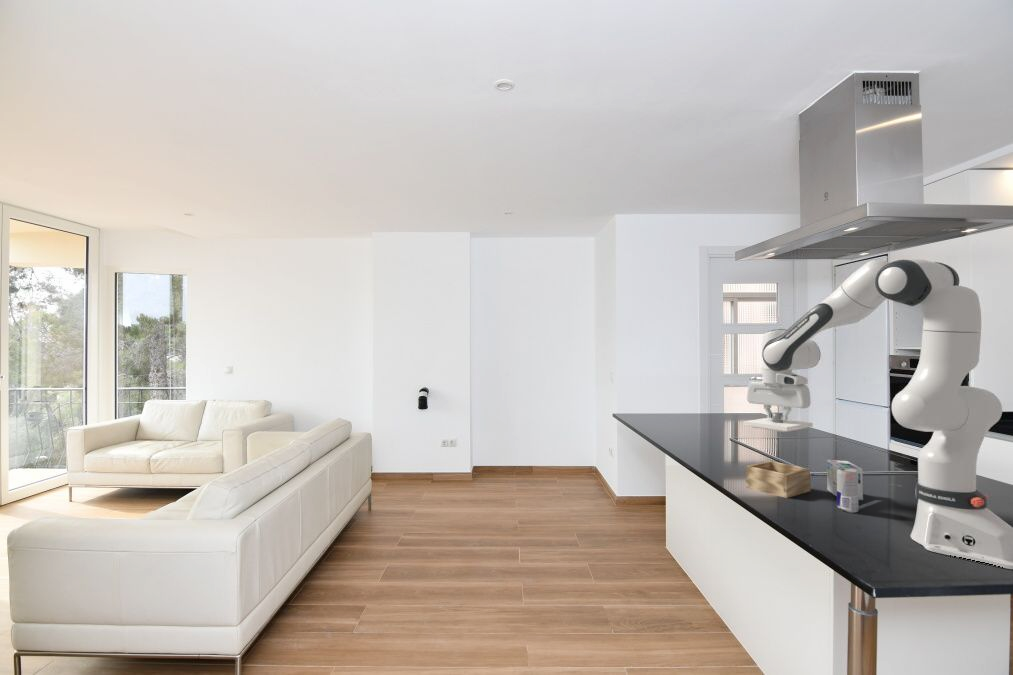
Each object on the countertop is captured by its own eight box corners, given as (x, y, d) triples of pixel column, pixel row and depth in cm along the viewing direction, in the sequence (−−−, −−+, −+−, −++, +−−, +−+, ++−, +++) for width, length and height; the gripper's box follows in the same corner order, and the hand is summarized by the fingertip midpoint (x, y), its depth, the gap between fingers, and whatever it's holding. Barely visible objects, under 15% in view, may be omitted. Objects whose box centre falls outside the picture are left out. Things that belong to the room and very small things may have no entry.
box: (810, 493, 173) (810, 469, 173) (786, 500, 165) (786, 475, 166) (769, 483, 185) (769, 460, 185) (745, 489, 177) (745, 466, 177)
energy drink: (845, 506, 159) (844, 466, 159) (862, 511, 154) (862, 471, 154) (832, 508, 157) (832, 468, 158) (850, 514, 152) (849, 472, 153)
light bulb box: (863, 502, 163) (863, 468, 163) (839, 501, 164) (839, 467, 164) (848, 492, 173) (848, 460, 173) (826, 491, 175) (826, 459, 175)
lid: (812, 429, 173) (812, 413, 173) (787, 433, 165) (786, 417, 165) (769, 423, 185) (768, 409, 186) (743, 427, 178) (743, 412, 178)
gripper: (742, 376, 182) (743, 416, 182) (802, 380, 165) (802, 423, 165) (753, 376, 186) (754, 415, 186) (812, 379, 168) (813, 422, 168)
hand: (777, 419), depth 175 cm, fingers closed on lid, 3 cm apart
